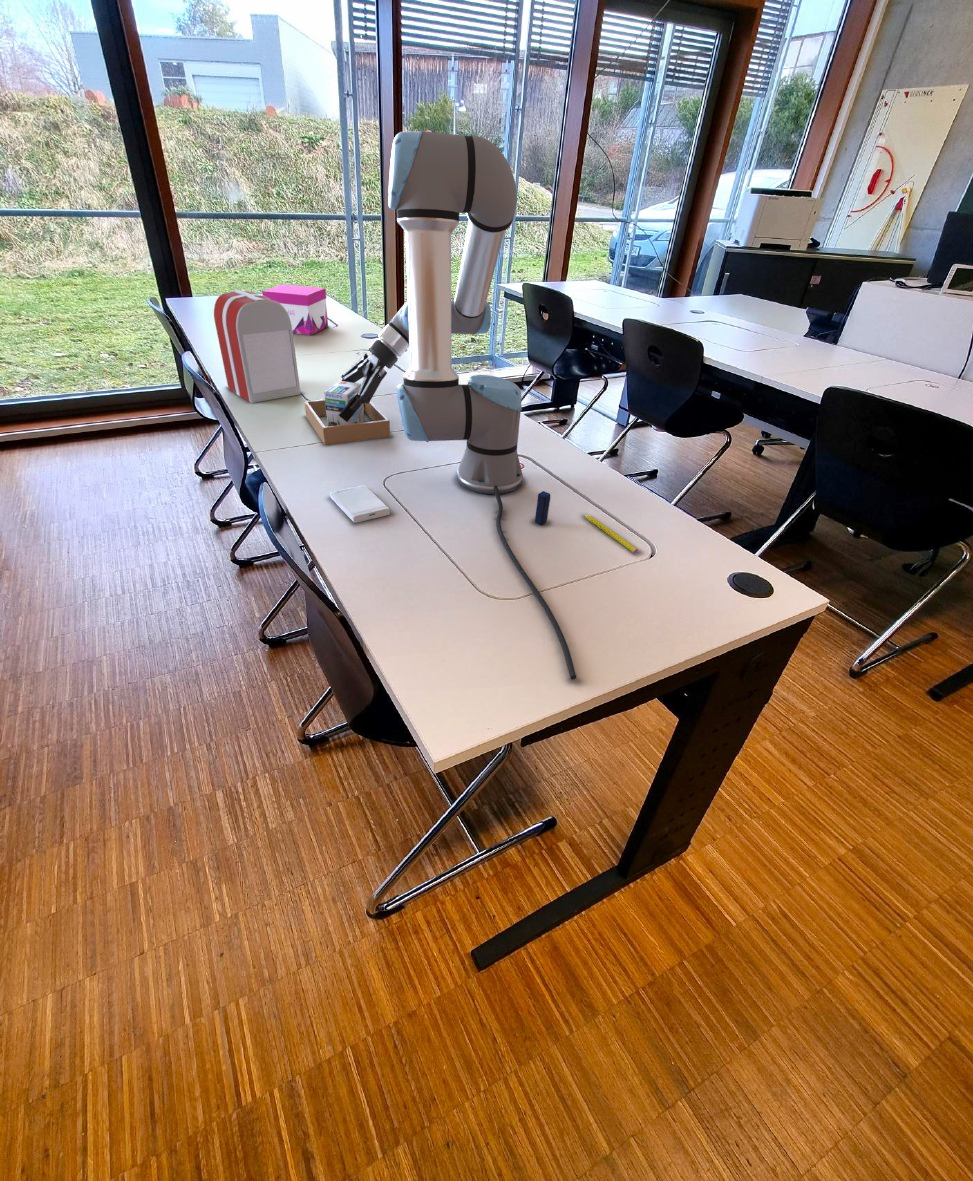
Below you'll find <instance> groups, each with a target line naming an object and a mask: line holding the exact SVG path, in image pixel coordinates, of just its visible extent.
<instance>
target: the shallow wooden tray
mask: <svg viewBox="0 0 973 1181" xmlns="http://www.w3.org/2000/svg"><path fill="white" fill-rule="evenodd" d="M303 403H304V412H305V417H306V419H307V421H308V422H309V423H310V424H311V427H312V428H313V430H314V432H316V434H317V435H318V437H319V439H320V440H321V441H322V443H323V444H324V446H327V445H335V444H344V443H353V442H360V441H368V440H369V441H370V440H375V439H377V440H378V439H384V438H391V421H390V419H389V418H388V417H387V416H386V415H385V414H384V413H383V412H382V411H381V410H380V409H379V408H378V407H377V406H376V405H375V404H374V402H372V400H371V401H370V402H369V403H368V404H367V403H363V406H364V414H366V415H367V417H369V418H370V420H371V421H365V422H363V423H354V424H345V425H336V426H328V425H325V424H324V422H323V421H322V420H321V419H320V417H327V413H326V404H325V398H324V399H313V400H304V401H303Z"/></svg>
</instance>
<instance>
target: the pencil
mask: <svg viewBox="0 0 973 1181" xmlns="http://www.w3.org/2000/svg"><path fill="white" fill-rule="evenodd" d="M584 516H585V518H586V520H588V521H589V522H590V523H591V524H593V525H595V526H596V527H597V528H598V529H600V530H601V531H603V532H604V533H606V534H607V535H609V537H611V538H613V539H614V540H616V541H617V542H618V543H619V544H621V545H623V546H624V547H625V548H627V550H629V551H630V552H632V553H633V554H636V553H638V551H639V549H638V548H636V547H635V546H634V545H633V544H631V543H629V542H628V541H627V540H626V539H624V538H622V537H621V536H620V535H618V534H617V533H616V532H614V531H613V530H612V529H610V528H608V527H607V526H605V525H604V524H603V523H601V522H600V521H598V520H597V519H596V518H594V517H593V516H592V515H590V514H585V513H584Z"/></svg>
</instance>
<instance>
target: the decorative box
mask: <svg viewBox="0 0 973 1181" xmlns="http://www.w3.org/2000/svg"><path fill="white" fill-rule="evenodd" d="M261 295H263V296H266V297H268V298H270V299H271V300H274V301H276V302H278V303H280V304H281V305H282V306H283V307H284V308H285V309H286V311H287V313H288V315H289V317H290V320H291V325H292V331H293V334H297V335H306V336H307V335H308V336H312V335H315V334H316V333H318V332H320V331H321V330H324V329H325V328H327V327H329V321H328V311H327V301H326V299H327V289H326V288H325V287H315V286H307V285H306V286H305V285H295V284H286V283H283V284H279V285H276V286H273V287H270V288H267V289H264V290H262V291H261Z"/></svg>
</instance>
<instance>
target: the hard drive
mask: <svg viewBox="0 0 973 1181" xmlns="http://www.w3.org/2000/svg"><path fill="white" fill-rule="evenodd" d="M329 497H330V499H331V500H332V501H333V502H334V503H335V504H336V505H337V506H338V508H339V509H340V510H341V511H342V512H343V513H344V514H345V515H346V516H347V517H348V518H349V519H350V520H351V522H353V523H355V524H357V523H361V522H365V521H369V520H373V519H377V518H381V517H382V518H383V517H386V516H390V515H391V508H390V507H388V505H387V504H386V503H385V502H383V501H382V499H380V498H379V497H378V496H377V495H376V494H375V493H374V492H373V491H372V490H371V489H370V488H368V486H367V485H366V484H360V485H357V486H352V487H347V488H343V489H339V490H333V491H331V492H330V493H329Z"/></svg>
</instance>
